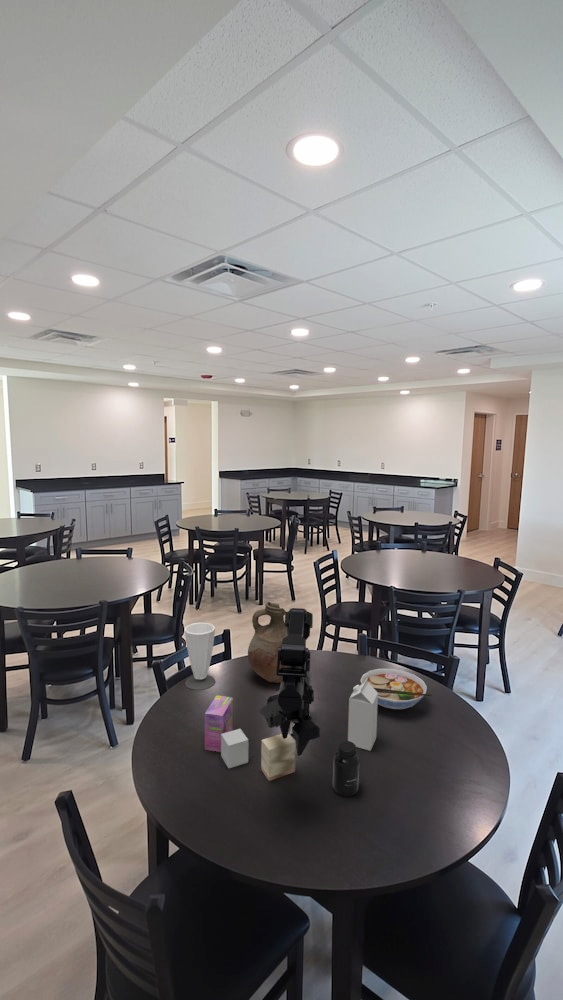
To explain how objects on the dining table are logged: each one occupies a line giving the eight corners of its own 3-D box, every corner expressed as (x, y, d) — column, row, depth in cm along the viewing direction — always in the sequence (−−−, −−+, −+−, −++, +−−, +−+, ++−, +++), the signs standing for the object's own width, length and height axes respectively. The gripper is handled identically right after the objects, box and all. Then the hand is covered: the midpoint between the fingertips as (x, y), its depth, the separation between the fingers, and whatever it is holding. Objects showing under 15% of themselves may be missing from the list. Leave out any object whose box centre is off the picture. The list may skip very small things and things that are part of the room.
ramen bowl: (425, 690, 178) (426, 669, 177) (433, 725, 156) (434, 702, 155) (357, 683, 183) (357, 663, 182) (355, 717, 160) (356, 694, 159)
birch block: (286, 761, 138) (286, 732, 137) (294, 771, 134) (295, 741, 133) (261, 769, 134) (261, 739, 133) (269, 781, 130) (269, 750, 129)
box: (222, 753, 141) (222, 715, 140) (204, 750, 143) (204, 713, 141) (233, 732, 151) (233, 697, 150) (216, 729, 153) (215, 694, 151)
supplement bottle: (352, 801, 123) (353, 757, 122) (328, 790, 127) (329, 748, 125) (362, 785, 129) (363, 743, 127) (339, 775, 132) (340, 735, 131)
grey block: (240, 750, 143) (240, 728, 142) (248, 762, 137) (248, 739, 137) (221, 756, 140) (221, 734, 139) (228, 768, 135) (228, 745, 134)
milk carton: (376, 738, 149) (378, 680, 147) (370, 751, 143) (372, 691, 140) (354, 732, 152) (356, 675, 150) (347, 745, 146) (349, 686, 143)
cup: (213, 690, 177) (212, 634, 174) (181, 689, 177) (181, 633, 174) (217, 675, 188) (217, 622, 185) (188, 674, 188) (187, 621, 185)
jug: (310, 689, 178) (311, 611, 174) (252, 695, 173) (252, 615, 169) (295, 663, 199) (296, 593, 195) (244, 668, 194) (244, 596, 190)
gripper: (249, 680, 128) (249, 735, 130) (281, 716, 112) (280, 778, 114) (286, 672, 133) (285, 724, 135) (322, 704, 117) (320, 764, 119)
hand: (291, 746), depth 125 cm, fingers open, 8 cm apart
